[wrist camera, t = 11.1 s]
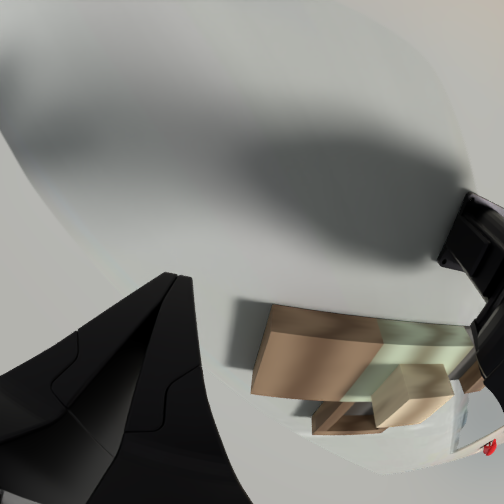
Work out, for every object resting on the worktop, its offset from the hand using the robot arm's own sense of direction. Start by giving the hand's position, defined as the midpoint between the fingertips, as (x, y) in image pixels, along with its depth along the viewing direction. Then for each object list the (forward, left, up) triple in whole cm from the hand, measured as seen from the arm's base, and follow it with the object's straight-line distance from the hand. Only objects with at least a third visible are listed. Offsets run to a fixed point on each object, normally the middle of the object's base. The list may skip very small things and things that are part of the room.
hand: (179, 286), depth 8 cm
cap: (-116, +79, -11) cm, 141 cm away
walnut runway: (-21, +20, -11) cm, 31 cm away
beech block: (-20, +16, -8) cm, 27 cm away
